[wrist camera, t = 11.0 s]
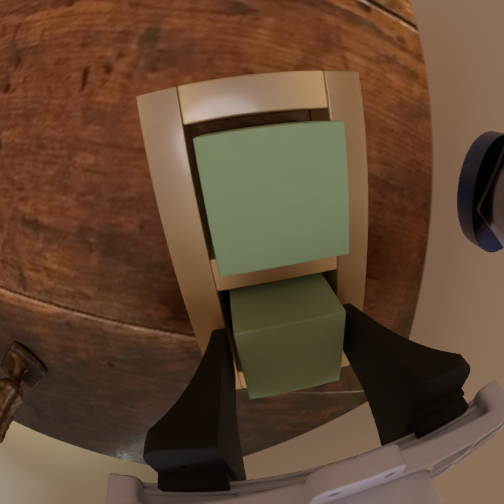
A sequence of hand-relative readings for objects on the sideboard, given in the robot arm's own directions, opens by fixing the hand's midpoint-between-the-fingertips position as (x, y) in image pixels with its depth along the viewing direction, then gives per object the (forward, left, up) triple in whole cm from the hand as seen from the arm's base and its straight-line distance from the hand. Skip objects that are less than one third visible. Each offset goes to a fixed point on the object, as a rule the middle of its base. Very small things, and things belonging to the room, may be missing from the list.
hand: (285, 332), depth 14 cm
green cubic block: (+4, -6, -3) cm, 8 cm away
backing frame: (+2, -3, -3) cm, 5 cm away
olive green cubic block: (0, 0, -3) cm, 3 cm away
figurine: (+15, +15, -3) cm, 22 cm away
